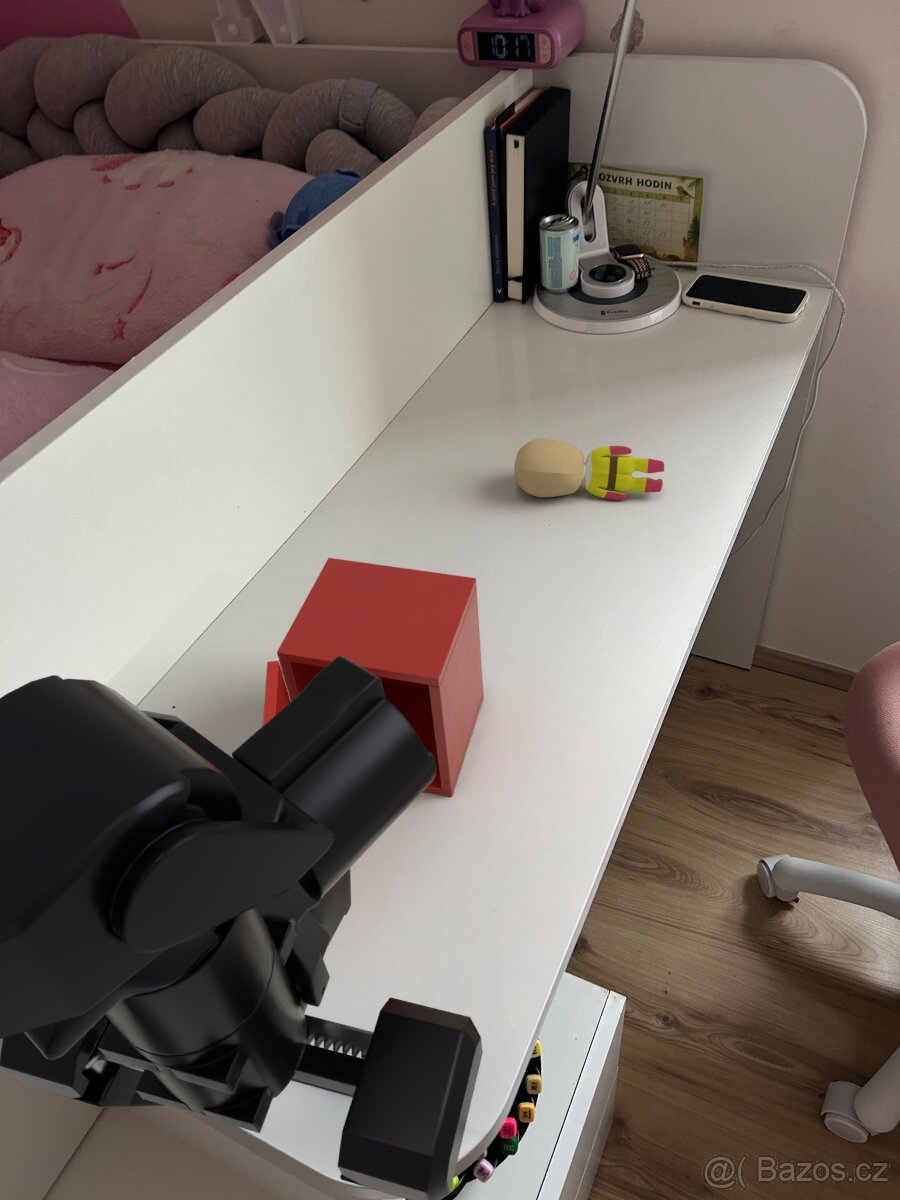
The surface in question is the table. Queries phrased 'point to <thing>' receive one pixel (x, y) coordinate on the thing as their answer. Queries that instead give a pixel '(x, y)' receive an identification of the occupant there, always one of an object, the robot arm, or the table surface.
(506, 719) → the table surface
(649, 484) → the toy
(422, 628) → the cabinet
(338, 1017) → the table surface
